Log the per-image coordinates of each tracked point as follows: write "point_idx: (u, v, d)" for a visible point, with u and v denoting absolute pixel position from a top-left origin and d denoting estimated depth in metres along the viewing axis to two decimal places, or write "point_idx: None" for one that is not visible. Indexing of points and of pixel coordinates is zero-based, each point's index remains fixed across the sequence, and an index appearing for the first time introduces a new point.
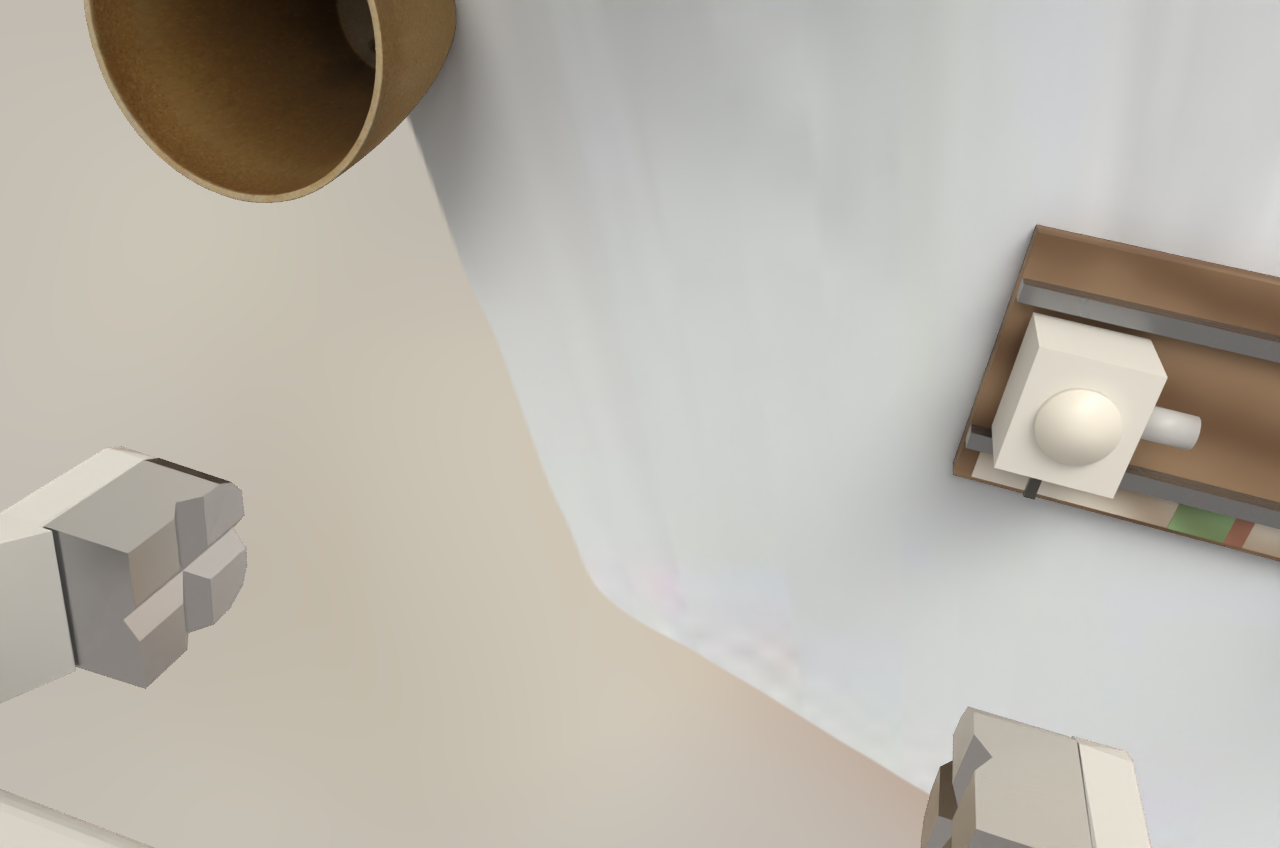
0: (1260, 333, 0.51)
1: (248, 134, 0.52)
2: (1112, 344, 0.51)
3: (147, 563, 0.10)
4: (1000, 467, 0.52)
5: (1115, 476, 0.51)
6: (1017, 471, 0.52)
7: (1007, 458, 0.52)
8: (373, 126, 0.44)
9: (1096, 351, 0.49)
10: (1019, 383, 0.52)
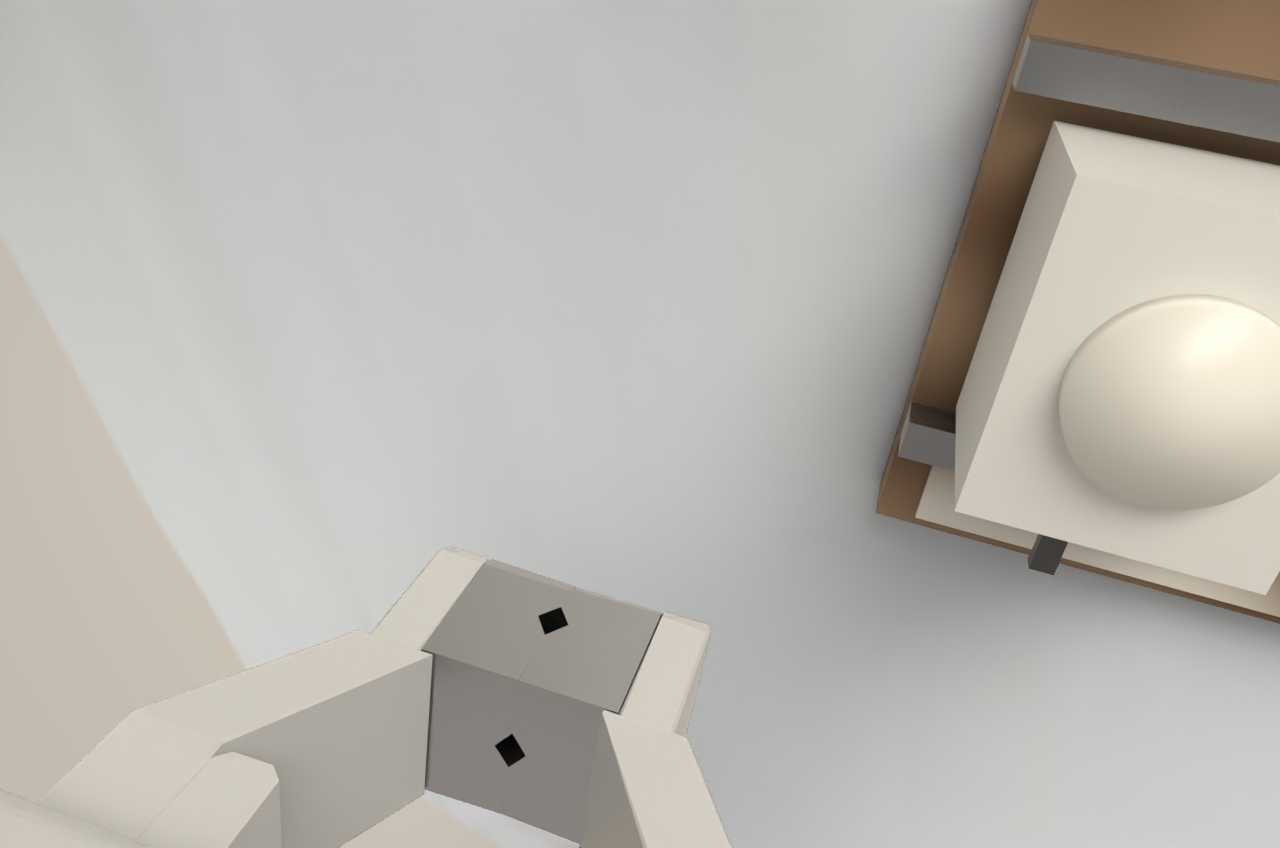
0: None
1: None
2: (1270, 182, 0.19)
3: None
4: (970, 510, 0.20)
5: (1277, 538, 0.19)
6: (1014, 521, 0.20)
7: (988, 488, 0.20)
8: None
9: (1235, 192, 0.18)
10: (1019, 292, 0.20)
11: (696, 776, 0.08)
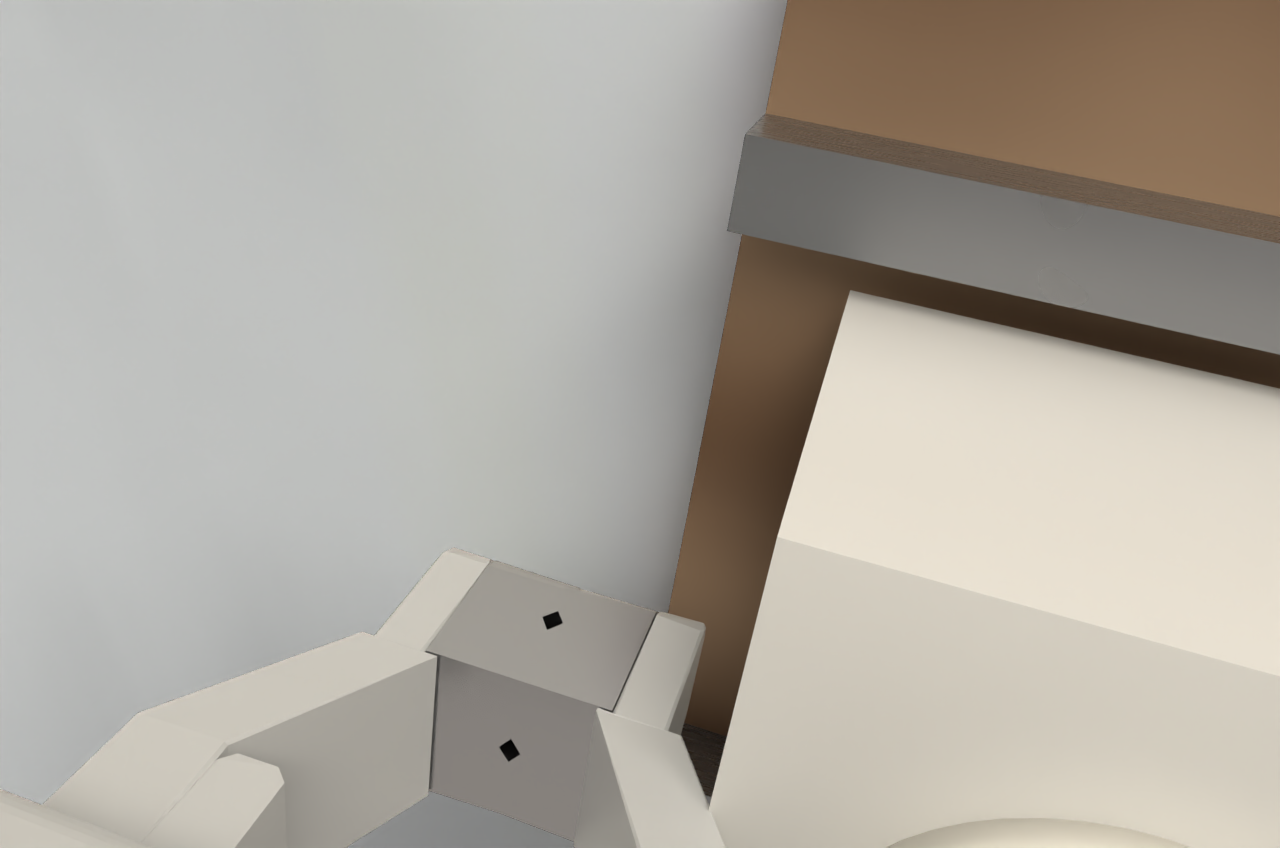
0: None
1: None
2: None
3: None
4: None
5: None
6: None
7: None
8: None
9: (1192, 551, 0.07)
10: None
11: (689, 774, 0.08)
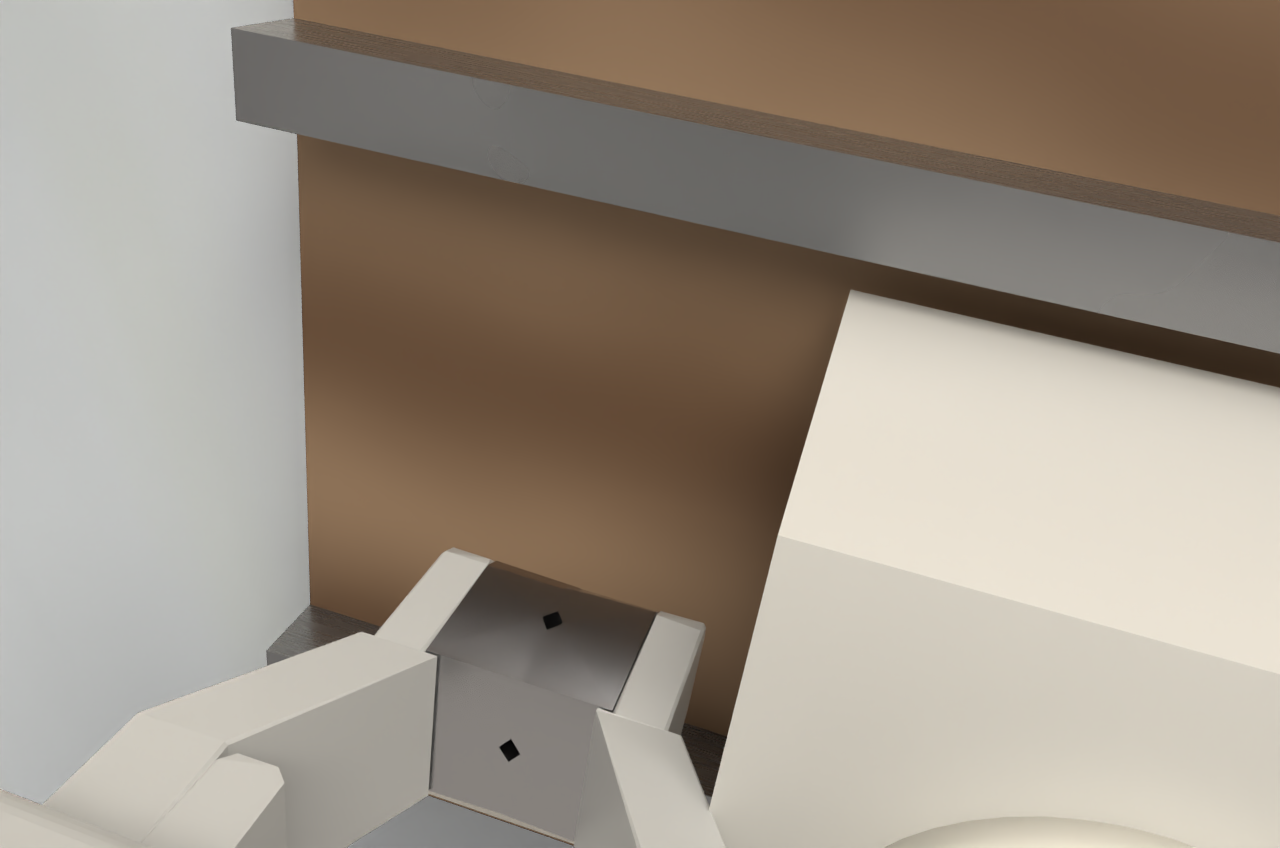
0: None
1: None
2: None
3: None
4: None
5: None
6: None
7: None
8: None
9: (1195, 548, 0.07)
10: None
11: (689, 774, 0.08)
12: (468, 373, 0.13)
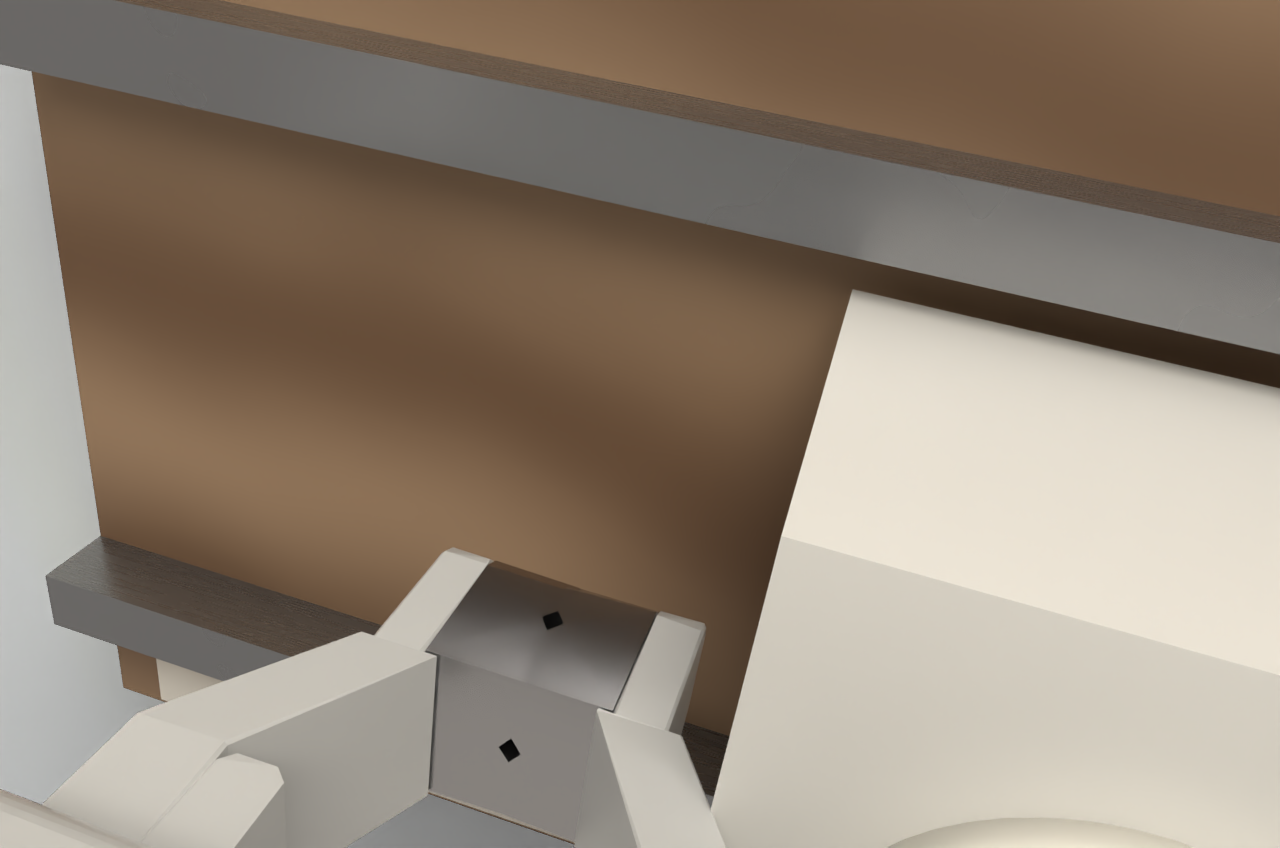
0: (960, 158, 0.10)
1: None
2: None
3: None
4: None
5: None
6: None
7: None
8: None
9: (1198, 551, 0.07)
10: None
11: (689, 774, 0.08)
12: (210, 303, 0.14)
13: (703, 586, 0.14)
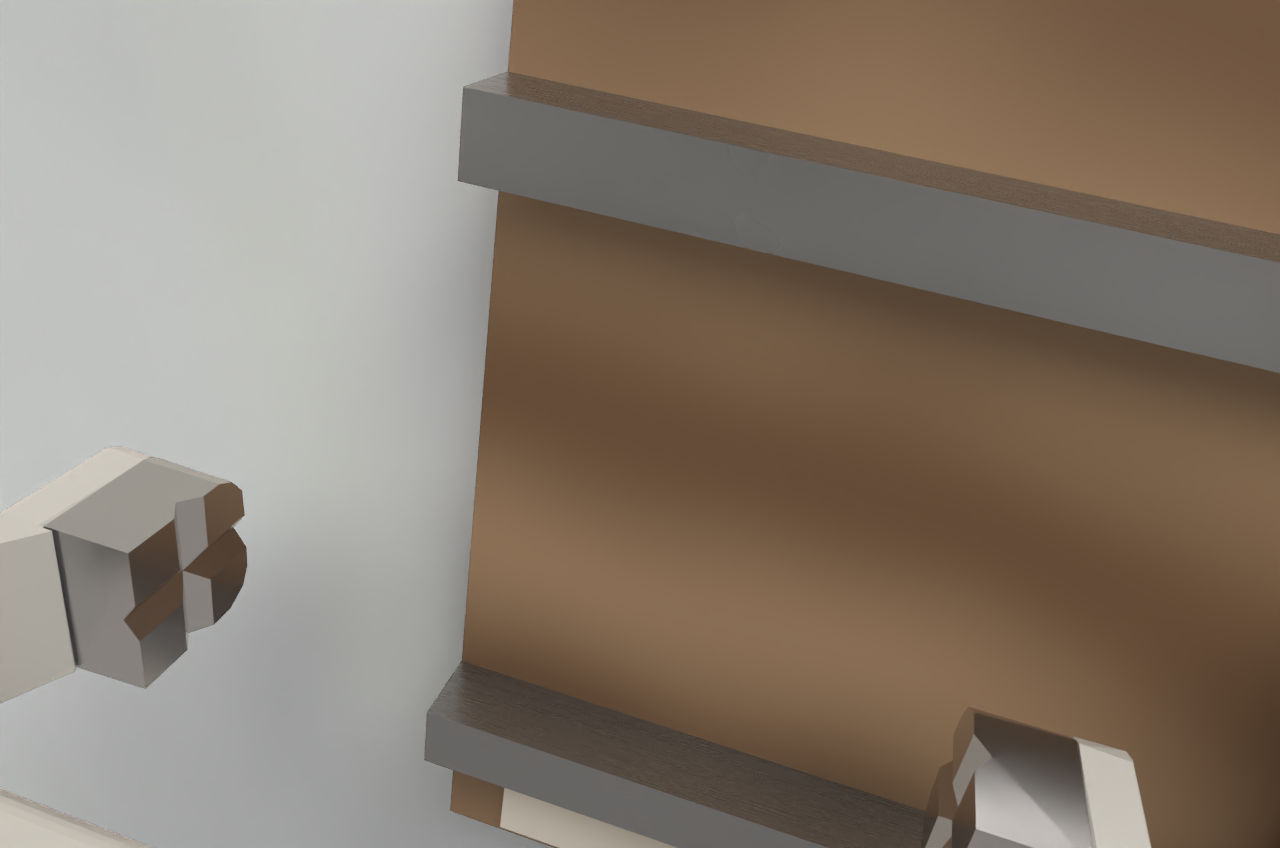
0: None
1: None
2: None
3: (147, 563, 0.10)
4: None
5: None
6: None
7: None
8: None
9: None
10: None
11: None
12: (661, 435, 0.13)
13: (1205, 748, 0.13)
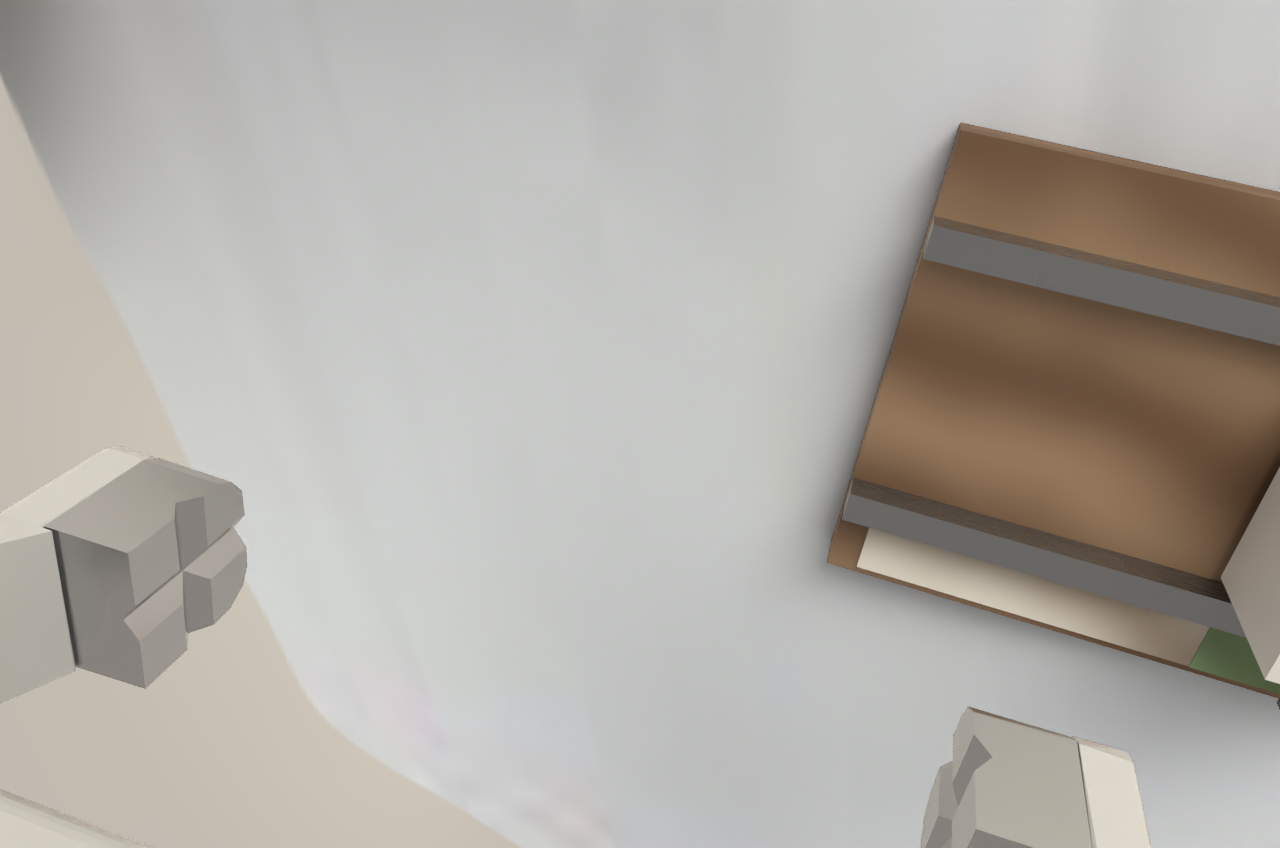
0: None
1: None
2: None
3: (147, 563, 0.10)
4: (1278, 680, 0.26)
5: None
6: None
7: None
8: None
9: None
10: None
11: None
12: (975, 364, 0.31)
13: (1203, 499, 0.31)
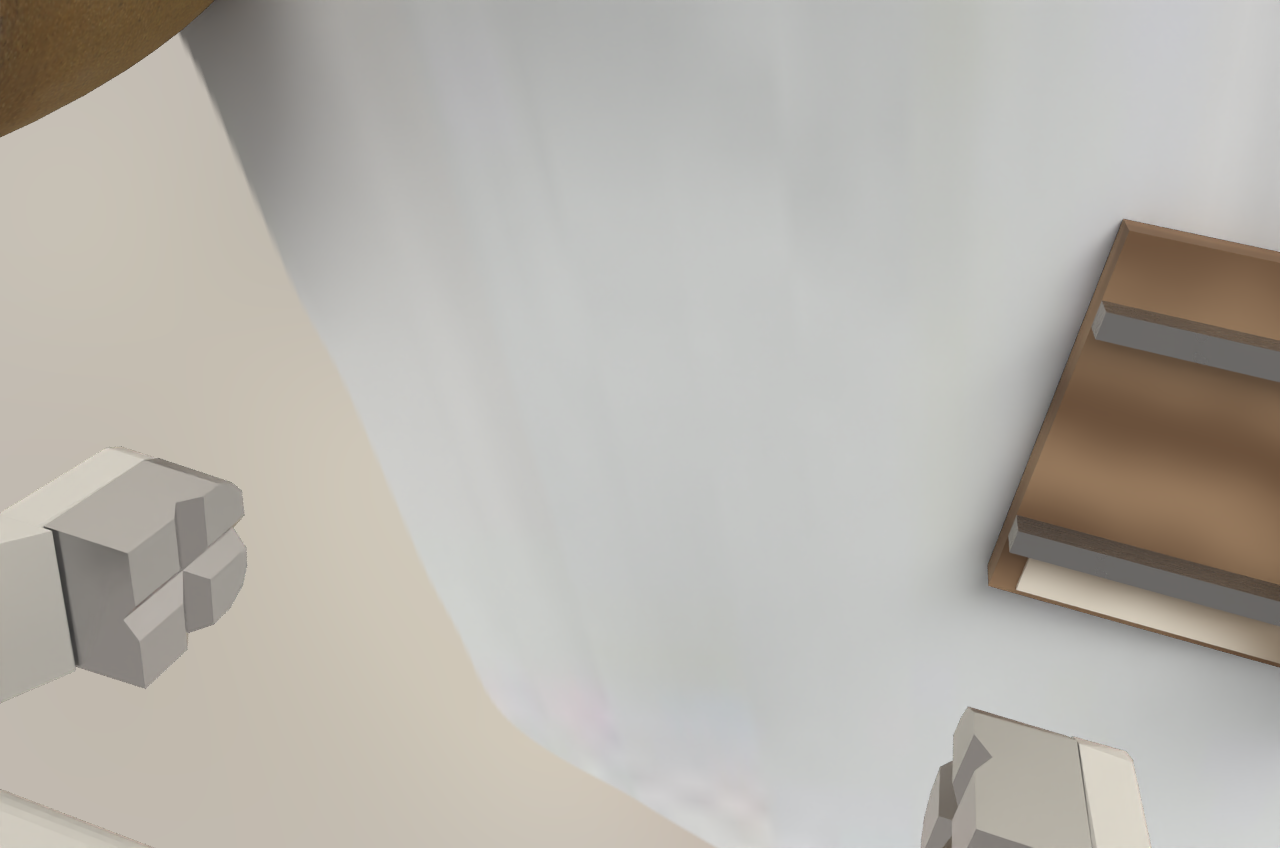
0: None
1: None
2: None
3: (147, 563, 0.10)
4: None
5: None
6: None
7: None
8: (4, 49, 0.26)
9: None
10: None
11: None
12: (1132, 421, 0.36)
13: None
